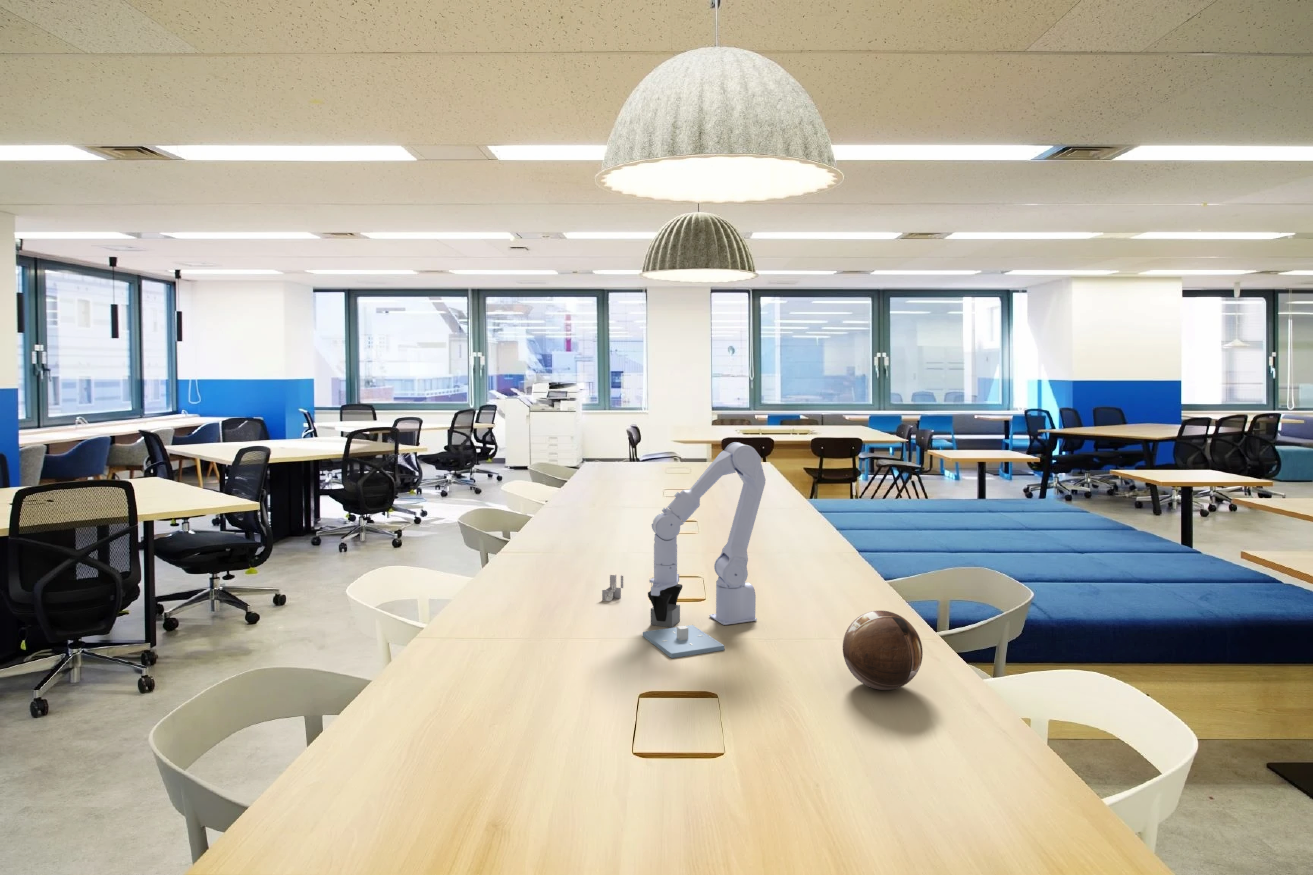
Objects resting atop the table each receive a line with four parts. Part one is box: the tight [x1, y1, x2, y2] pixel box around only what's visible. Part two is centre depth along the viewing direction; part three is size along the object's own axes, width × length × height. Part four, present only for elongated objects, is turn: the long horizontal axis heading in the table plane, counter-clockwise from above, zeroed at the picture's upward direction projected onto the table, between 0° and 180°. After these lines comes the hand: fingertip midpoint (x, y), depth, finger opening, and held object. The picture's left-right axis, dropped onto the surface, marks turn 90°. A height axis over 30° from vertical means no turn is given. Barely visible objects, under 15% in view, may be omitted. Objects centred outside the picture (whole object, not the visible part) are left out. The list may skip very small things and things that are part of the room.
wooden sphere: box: [842, 610, 924, 691], centre depth 157 cm, size 15×15×15 cm
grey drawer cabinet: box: [650, 604, 681, 628], centre depth 198 cm, size 6×6×4 cm
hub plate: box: [642, 624, 725, 659], centre depth 183 cm, size 13×16×4 cm
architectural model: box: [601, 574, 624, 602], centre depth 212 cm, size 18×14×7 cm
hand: (665, 617), depth 198 cm, fingers closed on grey drawer cabinet, 6 cm apart
